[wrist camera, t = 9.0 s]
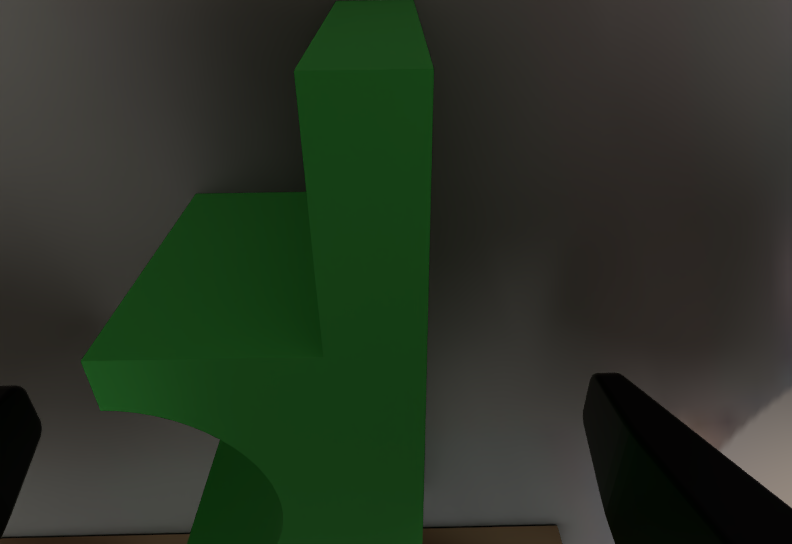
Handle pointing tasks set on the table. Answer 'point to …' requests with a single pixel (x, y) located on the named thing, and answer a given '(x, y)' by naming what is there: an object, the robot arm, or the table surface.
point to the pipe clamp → (302, 309)
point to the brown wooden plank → (477, 540)
